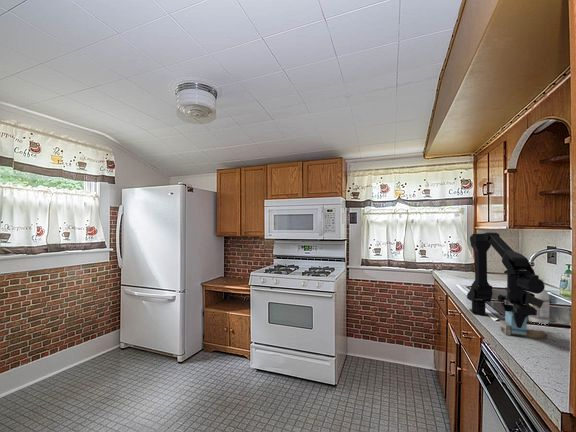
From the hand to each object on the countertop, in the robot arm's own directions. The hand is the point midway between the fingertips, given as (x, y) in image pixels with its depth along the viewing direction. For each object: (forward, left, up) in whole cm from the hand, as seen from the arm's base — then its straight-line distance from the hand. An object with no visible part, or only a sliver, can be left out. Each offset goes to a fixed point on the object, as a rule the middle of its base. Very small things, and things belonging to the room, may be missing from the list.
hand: (515, 325), depth 112 cm
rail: (0, +3, -4) cm, 4 cm away
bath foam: (-19, +16, -4) cm, 25 cm away
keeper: (0, 0, -4) cm, 4 cm away
